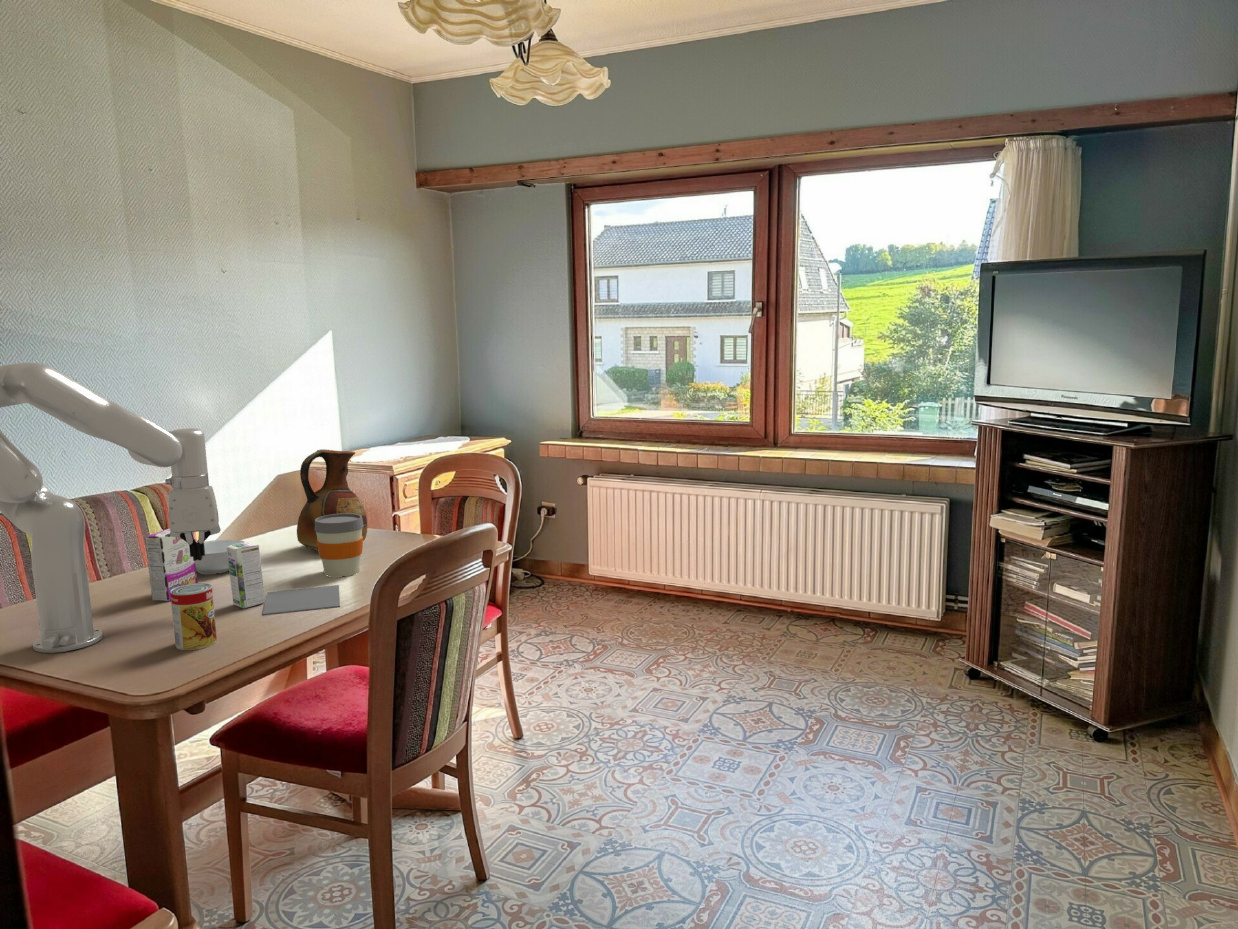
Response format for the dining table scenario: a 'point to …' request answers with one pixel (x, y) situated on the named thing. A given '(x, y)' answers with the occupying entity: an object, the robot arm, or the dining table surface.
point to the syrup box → (246, 574)
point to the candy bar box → (168, 564)
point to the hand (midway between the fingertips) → (198, 559)
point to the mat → (301, 599)
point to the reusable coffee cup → (340, 543)
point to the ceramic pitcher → (327, 495)
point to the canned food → (193, 616)
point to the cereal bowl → (215, 557)
